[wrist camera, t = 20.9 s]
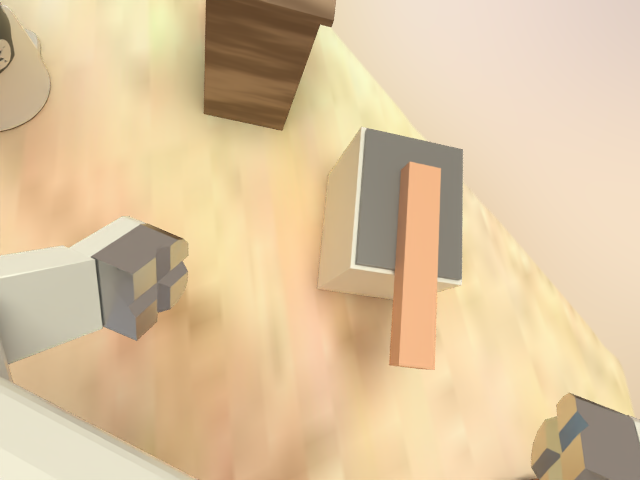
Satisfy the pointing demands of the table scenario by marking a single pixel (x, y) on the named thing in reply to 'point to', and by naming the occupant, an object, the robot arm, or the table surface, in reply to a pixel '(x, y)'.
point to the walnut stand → (258, 56)
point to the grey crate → (384, 213)
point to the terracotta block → (416, 268)
